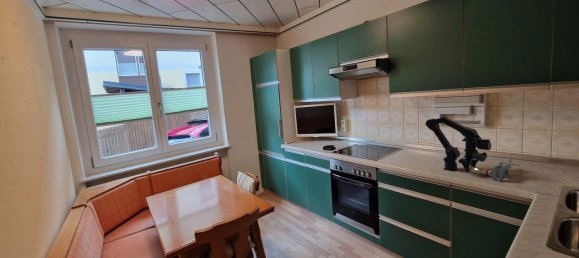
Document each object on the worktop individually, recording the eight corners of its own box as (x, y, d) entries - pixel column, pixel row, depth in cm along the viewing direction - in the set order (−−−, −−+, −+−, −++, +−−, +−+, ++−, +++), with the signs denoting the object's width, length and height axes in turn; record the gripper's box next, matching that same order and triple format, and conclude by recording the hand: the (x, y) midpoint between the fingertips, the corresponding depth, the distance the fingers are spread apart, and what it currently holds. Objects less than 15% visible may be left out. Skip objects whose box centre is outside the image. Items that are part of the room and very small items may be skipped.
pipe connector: (519, 169, 165) (520, 155, 163) (518, 174, 158) (519, 158, 157) (500, 167, 172) (500, 153, 170) (497, 171, 165) (498, 157, 164)
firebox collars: (492, 180, 153) (492, 167, 151) (500, 176, 158) (500, 163, 157) (501, 182, 149) (501, 169, 148) (509, 177, 154) (509, 165, 153)
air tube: (464, 169, 169) (466, 164, 170) (466, 172, 171) (468, 167, 172) (493, 174, 155) (495, 169, 157) (495, 178, 157) (497, 172, 158)
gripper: (477, 153, 154) (477, 177, 156) (491, 147, 163) (491, 170, 165) (458, 150, 163) (458, 173, 165) (472, 145, 172) (472, 166, 175)
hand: (470, 171), depth 167 cm, fingers open, 7 cm apart
